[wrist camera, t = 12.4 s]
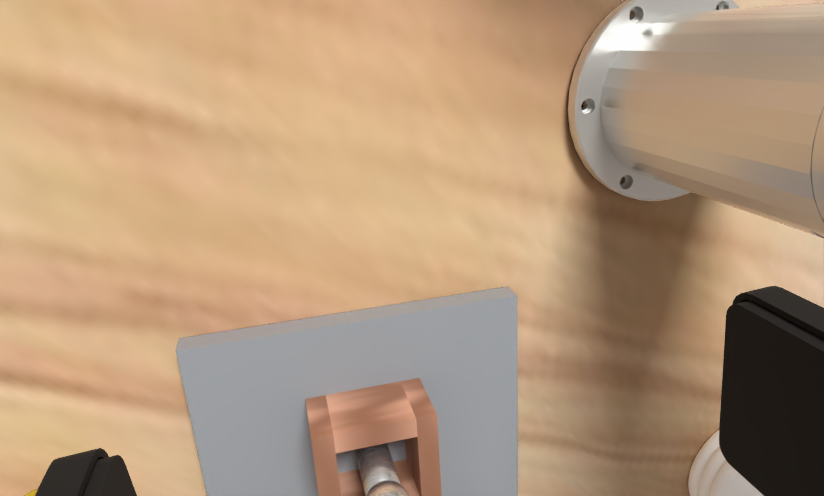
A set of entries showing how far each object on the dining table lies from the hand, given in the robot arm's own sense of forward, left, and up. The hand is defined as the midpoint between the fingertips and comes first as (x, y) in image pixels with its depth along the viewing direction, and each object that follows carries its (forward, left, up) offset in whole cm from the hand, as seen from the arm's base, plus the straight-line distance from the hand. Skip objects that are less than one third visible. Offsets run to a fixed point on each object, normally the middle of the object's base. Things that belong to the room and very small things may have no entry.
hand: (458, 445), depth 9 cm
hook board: (-1, +18, -26) cm, 32 cm away
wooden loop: (-1, +18, -25) cm, 30 cm away
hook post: (-1, +18, -24) cm, 30 cm away
